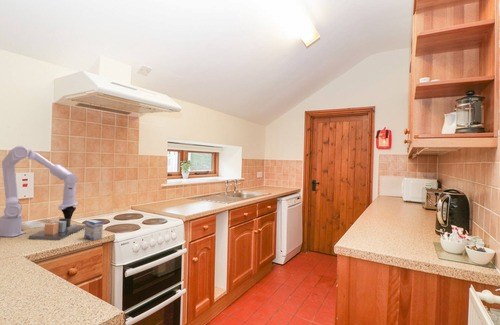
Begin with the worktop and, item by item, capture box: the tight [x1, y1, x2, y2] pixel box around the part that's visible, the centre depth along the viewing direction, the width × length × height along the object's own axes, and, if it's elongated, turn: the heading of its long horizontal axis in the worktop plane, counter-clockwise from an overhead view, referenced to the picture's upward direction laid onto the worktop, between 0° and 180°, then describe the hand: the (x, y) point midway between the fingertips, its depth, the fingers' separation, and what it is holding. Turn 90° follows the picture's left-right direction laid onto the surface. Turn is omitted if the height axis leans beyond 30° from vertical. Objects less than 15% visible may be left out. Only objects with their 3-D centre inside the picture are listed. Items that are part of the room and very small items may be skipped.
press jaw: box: [48, 218, 72, 232], centre depth 144 cm, size 7×9×5 cm
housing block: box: [44, 220, 59, 235], centre depth 137 cm, size 4×4×6 cm
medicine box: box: [84, 219, 104, 241], centre depth 138 cm, size 8×4×9 cm, turn 62°
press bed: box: [28, 223, 85, 241], centre depth 144 cm, size 14×24×4 cm, turn 4°
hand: (67, 220), depth 150 cm, fingers closed
